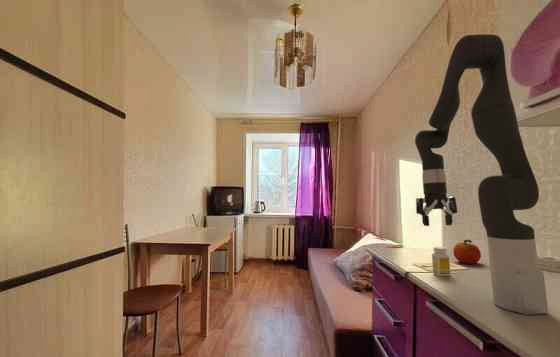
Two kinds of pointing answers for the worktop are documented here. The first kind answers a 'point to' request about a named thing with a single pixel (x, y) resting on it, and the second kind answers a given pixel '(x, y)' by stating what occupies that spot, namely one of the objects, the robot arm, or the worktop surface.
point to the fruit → (467, 252)
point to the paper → (430, 266)
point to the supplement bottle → (441, 262)
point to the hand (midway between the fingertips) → (437, 225)
